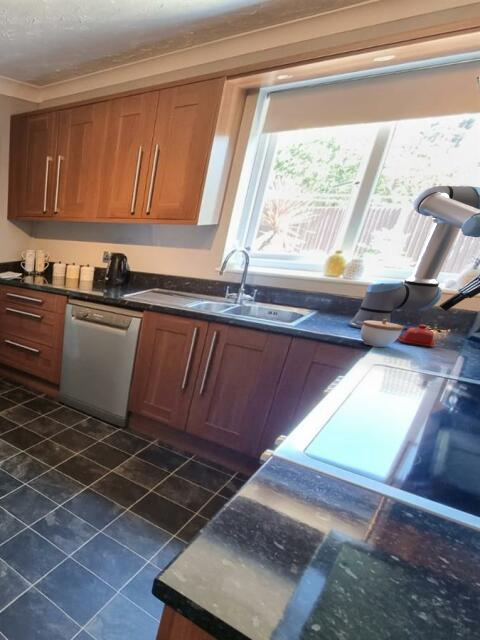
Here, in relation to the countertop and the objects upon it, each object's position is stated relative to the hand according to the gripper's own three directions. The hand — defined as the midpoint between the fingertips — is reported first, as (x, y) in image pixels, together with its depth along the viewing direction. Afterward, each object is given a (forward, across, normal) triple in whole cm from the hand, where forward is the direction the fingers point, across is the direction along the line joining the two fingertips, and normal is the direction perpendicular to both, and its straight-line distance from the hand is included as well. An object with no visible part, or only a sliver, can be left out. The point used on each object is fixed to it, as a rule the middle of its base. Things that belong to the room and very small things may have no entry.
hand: (442, 308), depth 169 cm
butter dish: (+16, +11, -11) cm, 22 cm away
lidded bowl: (+23, -4, +4) cm, 24 cm away
